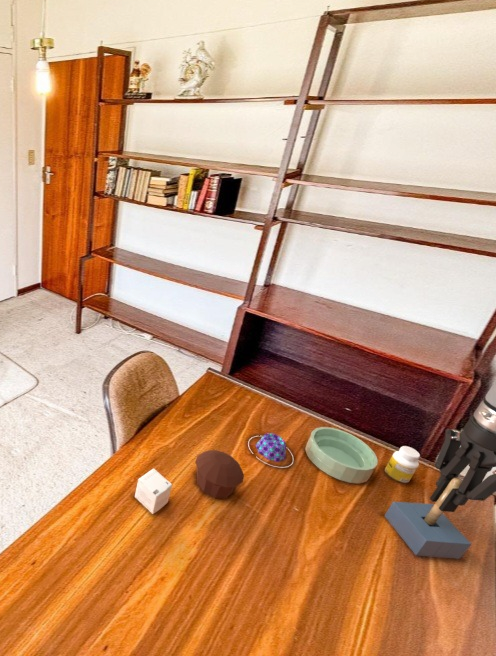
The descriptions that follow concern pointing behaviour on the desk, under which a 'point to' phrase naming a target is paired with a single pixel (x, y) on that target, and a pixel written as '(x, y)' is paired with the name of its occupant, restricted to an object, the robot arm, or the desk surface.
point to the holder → (426, 531)
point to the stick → (435, 511)
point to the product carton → (153, 491)
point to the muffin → (218, 473)
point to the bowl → (341, 455)
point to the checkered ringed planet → (272, 448)
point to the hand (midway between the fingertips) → (441, 505)
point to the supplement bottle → (403, 464)
